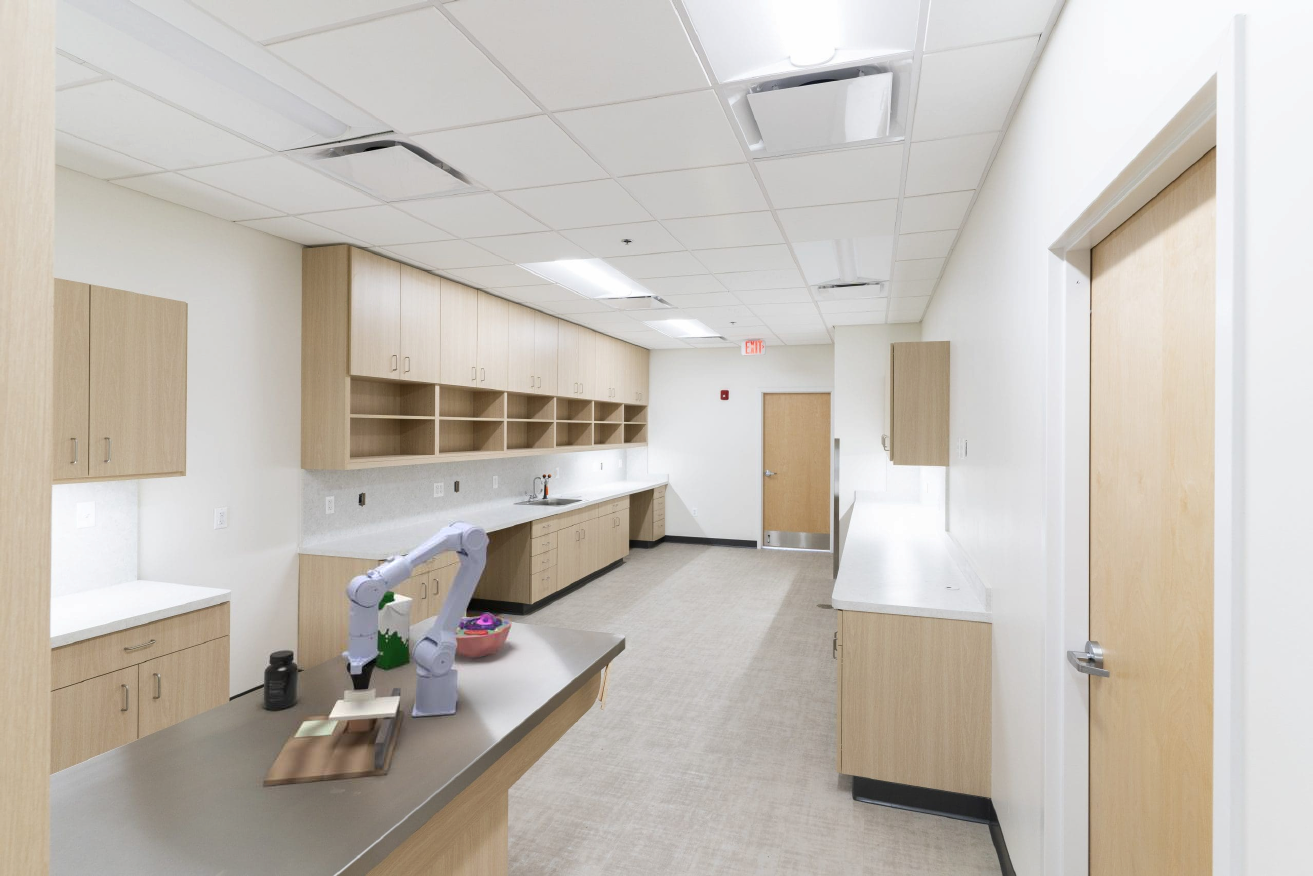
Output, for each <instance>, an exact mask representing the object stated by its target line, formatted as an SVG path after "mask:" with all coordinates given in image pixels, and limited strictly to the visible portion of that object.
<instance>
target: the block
mask: <svg viewBox="0 0 1313 876" xmlns="http://www.w3.org/2000/svg"><path fill="white" fill-rule="evenodd" d="M372 726H373V723H372V718H369V719H356V720H349V725H348V733H355V732H368V731H371V730H372V729H371V728H372Z"/></svg>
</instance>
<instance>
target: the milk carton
mask: <svg viewBox="0 0 1313 876" xmlns="http://www.w3.org/2000/svg"><path fill="white" fill-rule="evenodd" d="M413 601H414V599H413V598H411V597H408V596H404V595H401V594H398V593H396V594H395V592H394V591H391V590H389V591H387V592H386V593H385V594H384V596H383V598H382V600H381V601H380V602H379V606H378V611H379V612H378V640H377V650H378V655H377V656H376V657H377V658H378V660H377V663H376V665H375V667H377V668H380V669H382V670H385V671H389V670H392V669H394V668H397V667H401V666H404V665H406V664H409V663H410V624H411V623H410V622H411V621H410V620H411V609H412V606H413Z"/></svg>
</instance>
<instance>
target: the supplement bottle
mask: <svg viewBox="0 0 1313 876" xmlns="http://www.w3.org/2000/svg"><path fill="white" fill-rule="evenodd" d="M294 653H295V652H294V651H293V650H289V649H287V650H286V649H285V650H278V651H274V652H271V653H270V654H269V661H268V663H269V664H268V666H267V667H266V668H265V669H264V674H263V707H264V708H265V709H267V710H268V711H279V710H285V709H288V708H290V707H292V706H294V705H295V704H296V703H297V701H298V690H299V689H298V685H299V683H298V681H299V679H298V678H299V666H298V664H297V663H296V662H295V661H294V660H295V658H294V655H295V654H294Z"/></svg>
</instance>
